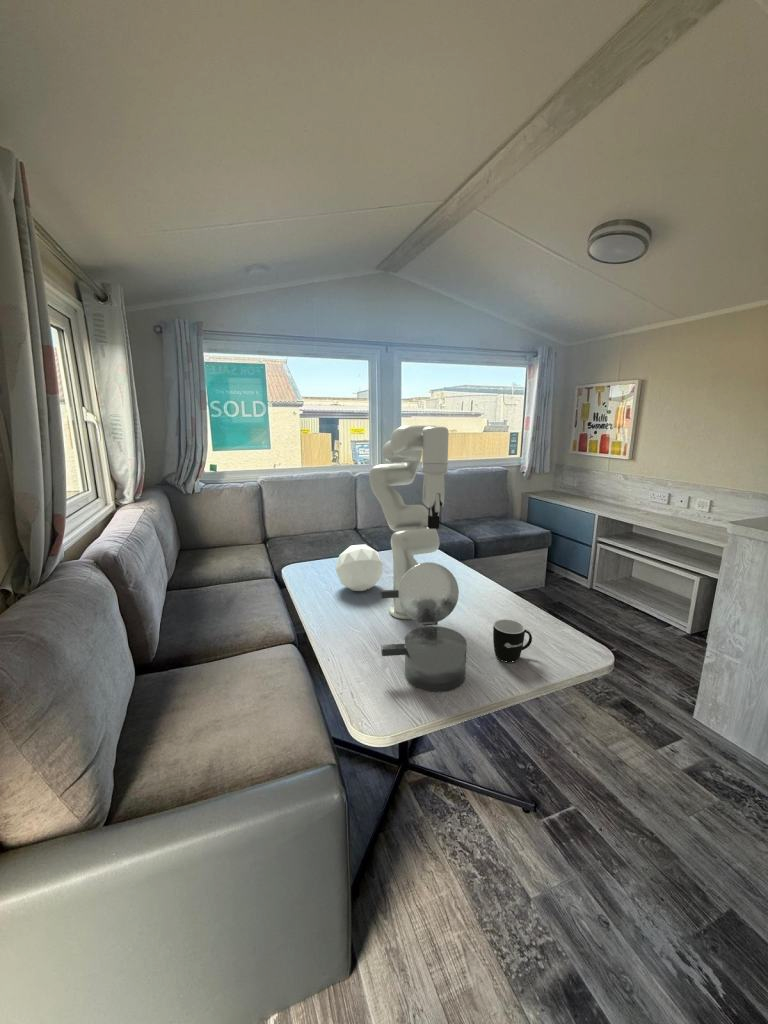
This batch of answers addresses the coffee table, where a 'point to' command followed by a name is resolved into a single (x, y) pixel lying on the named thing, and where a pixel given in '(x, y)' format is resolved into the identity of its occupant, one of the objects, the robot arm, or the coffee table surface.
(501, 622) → the mug
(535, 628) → the coffee table surface
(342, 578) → the geometric polyhedron
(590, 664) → the coffee table surface
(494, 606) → the coffee table surface
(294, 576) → the coffee table surface
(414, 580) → the lid
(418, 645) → the pot
